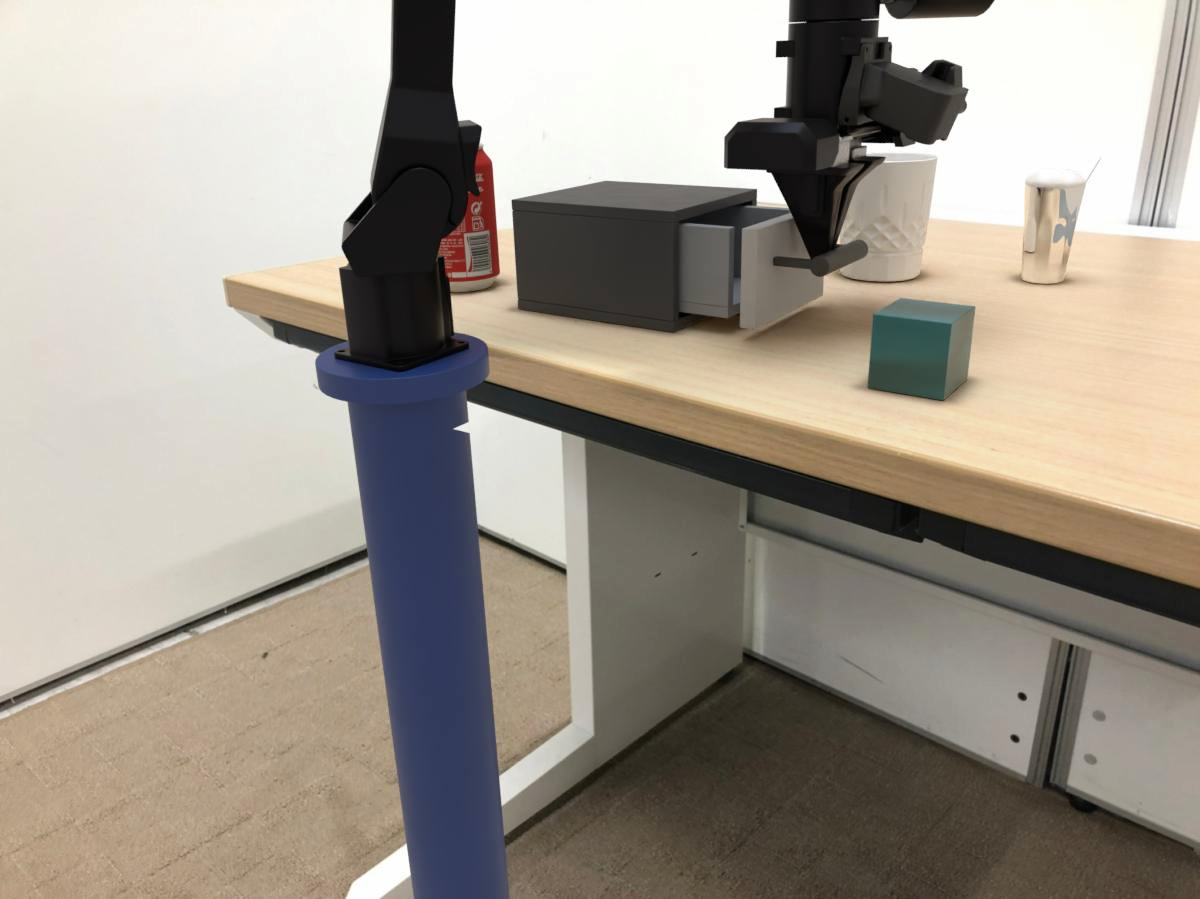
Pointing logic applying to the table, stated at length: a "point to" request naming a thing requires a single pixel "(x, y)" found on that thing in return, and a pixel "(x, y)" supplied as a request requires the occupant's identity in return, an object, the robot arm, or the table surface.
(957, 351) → the block
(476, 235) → the beverage can
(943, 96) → the robot arm
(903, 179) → the white cup
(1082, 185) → the milkshake
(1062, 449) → the table surface
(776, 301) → the drawer
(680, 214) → the cabinet
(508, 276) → the table surface
